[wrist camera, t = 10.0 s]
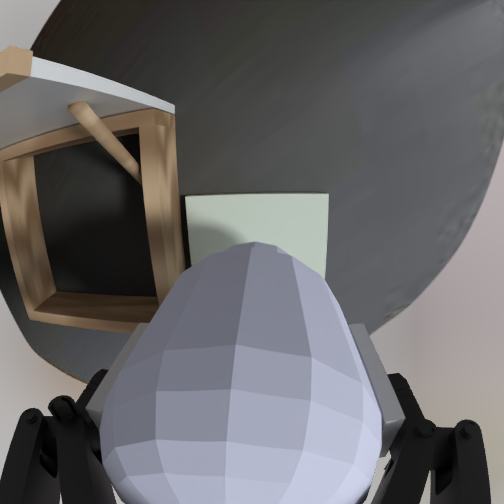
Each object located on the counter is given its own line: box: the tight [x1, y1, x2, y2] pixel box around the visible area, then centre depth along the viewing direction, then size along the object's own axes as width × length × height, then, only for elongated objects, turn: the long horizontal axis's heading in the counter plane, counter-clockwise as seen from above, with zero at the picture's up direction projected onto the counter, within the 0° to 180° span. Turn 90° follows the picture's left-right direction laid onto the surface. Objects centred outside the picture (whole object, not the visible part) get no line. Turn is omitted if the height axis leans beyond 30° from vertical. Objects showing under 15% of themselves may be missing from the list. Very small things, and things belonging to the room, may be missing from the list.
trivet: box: [185, 192, 329, 280], centre depth 27 cm, size 12×12×1 cm
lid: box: [0, 46, 175, 150], centre depth 15 cm, size 1×19×19 cm, turn 92°
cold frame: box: [0, 101, 186, 334], centre depth 21 cm, size 19×18×12 cm
